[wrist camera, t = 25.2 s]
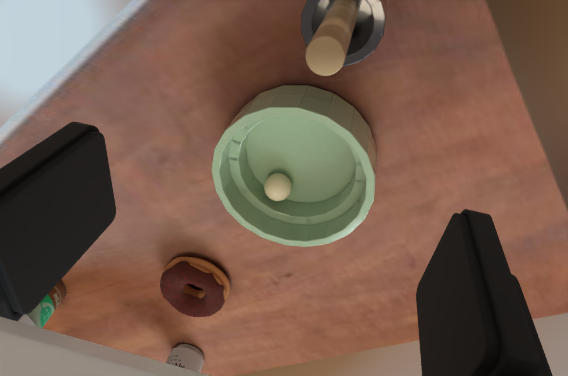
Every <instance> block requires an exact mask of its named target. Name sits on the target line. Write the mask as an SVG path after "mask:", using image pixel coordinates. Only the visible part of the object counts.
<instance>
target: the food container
mask: <svg viewBox="0 0 568 376" xmlns="http://www.w3.org/2000/svg"><path fill="white" fill-rule="evenodd" d="M65 295H66V288H65V286H64V284H63V282H62V281H61V280H60V281H59V282H58V283H57V284H56V285H55V287H54V288H53V289H52V290H51V291H50V292H49V293H48V294H47V296H46V297H45V298H44V299H43V300H42V301H41V302H40V303H39V305H38V306H37V307H36V308H35V309H34V310H33V311H32V312H31V313H29V314H26V315H25V314H24V315H23V316H22V317H21V318H20V320H19V321H18V322H21V323H25V324H28V325H32V326H35V327H39V328H42V327H43V326H44V325H45V323H46V322H47V320H48V319H49V318H50V316H51V315H52V313H53V312H54V311H55V309H56V308H57V306H58V305H59V304H60V302H61V301H62V299H63V298H64V296H65Z"/></svg>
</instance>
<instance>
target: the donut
mask: <svg viewBox="0 0 568 376" xmlns="http://www.w3.org/2000/svg"><path fill="white" fill-rule="evenodd" d="M187 283H188V284H193V285H195V287H196V286H198V287H199V288H202V290H197V289H194V288H192V287H190V286H189V285H188V284H187ZM160 288H161V293H162V294H163V296H164V297H165V299H166V300H167V301H168V302H169V304H171V305H172V307H174V308H175V309H176V310H178V311H179V312H181V313H183V314H186V315H188V316H193V317H206V316H211V315H213V314H215V313H216V312H217V311H219V310H220V309H221V308H222V306H223V305H224V303H225V301H226V298H227V296H228V295H229V292H230V283H229V280H228V278H227V277H226V275H225V274H224V273H223V272H222V271H221V270H220V269H219V268H217V267H216V266H215V265H213V264H212V263H210V262H208V261H206V260H203V259H200V258H195V257H178V258H176V259H174V260H172V261H171V262H170V263H169V264H168V265H167V267H166V269H165V271H164V272H163V274H162V277H161V283H160ZM164 297H163V298H164Z"/></svg>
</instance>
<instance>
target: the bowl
mask: <svg viewBox="0 0 568 376" xmlns="http://www.w3.org/2000/svg"><path fill="white" fill-rule="evenodd" d="M376 151H377V149H376V146H375V143H374V139H373V136H372V133H371V130H370V128H369V126H368V124H367V123H366V122H365V120H364V119H363V118H362V116H361V115H360V114H359V112H358V111H357V110H356V108H354V107H353V106H352V105H350V104H349V103H347V102H346V101H344V100H343V99H341V98H340V97H338V96H337V95H336V94H333V93H332V92H329V91H325V90H322V89H319V88H316V87H312V86H308V85H283V86H280V87H277V88H274V89H271V90H268V91H265V92H262V93H260V94H259V95H257V96H256V97H255V98H253V99H252V100H251V101H250V102H248V103H247V104H246V105H245V106H243V108H242V109H241V110H240V112H239V113H238V114H237V116H236V117H235V118H234V120H233V121H232V122H231V124H230V125H229V126H228V128H227V129H226V130H225V132H224V134H223V135H222V137H221V139H220V140H219V142H218V144H217V146H216V147H215V150H214V157H213V163H212V175H213V180H214V184H215V189H216V192H217V194H218V196H219V197H220V199H221V201H222V203H223V204H224V206H225V208H226V210H227V211H228V212H229V213H230V214H231V215H232V216H233V217H234V218H235V219H236V220H237V221H238V222H239V223H240V224H241V225H242V226H244V227H245V228H247V229H249V230H250V231H252V232H254V233H255V234H257V235H259V236H260V237H262V238H265V239H268V240H271V241H274V242H277V243H280V244H283V245H284V244H285V245H291V246H303V247H309V246H315V245H321V244H328V243H331V242H333V241H335V240H338V239H340V238H342V237H344V236H346V235H348V234H350V233H351V232H352V231H353V230H354V229H355V228H356V227H357V226H358V225H359V224H360V223H361V222H362V221H363V220H364V219H365V218H366V216H367V213H368V211H369V209H370V207H371V205H372V203H373V201H374V192H375V174H376ZM276 173H280V174H284V175H285V176H287V177H288V178H289V180H290V181H291V184H292V190H291V193H290V195H289V196H288V197H287V198H286V199H284V200H281V201H274V200H272V199H270V198H269V197H268V196H267V195H266V193H265V190H264V184H265V181H266V179H267V178H268V177H269V176H271V175H272V174H276Z"/></svg>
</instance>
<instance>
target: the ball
mask: <svg viewBox="0 0 568 376" xmlns="http://www.w3.org/2000/svg"><path fill="white" fill-rule="evenodd" d="M264 190H265V193H266V195H267V196H268V197H269V198H270V199H272V200H274V201H281V200H284V199H286V198H287V197H288V196H289V195H290V193H291V190H292V184H291V181H290V180H289V178H288V177H287V176H285V175H284V174H280V173H276V174H272V175H271V176H269V177H268V178H267V179H266V181H265V184H264Z"/></svg>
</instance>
